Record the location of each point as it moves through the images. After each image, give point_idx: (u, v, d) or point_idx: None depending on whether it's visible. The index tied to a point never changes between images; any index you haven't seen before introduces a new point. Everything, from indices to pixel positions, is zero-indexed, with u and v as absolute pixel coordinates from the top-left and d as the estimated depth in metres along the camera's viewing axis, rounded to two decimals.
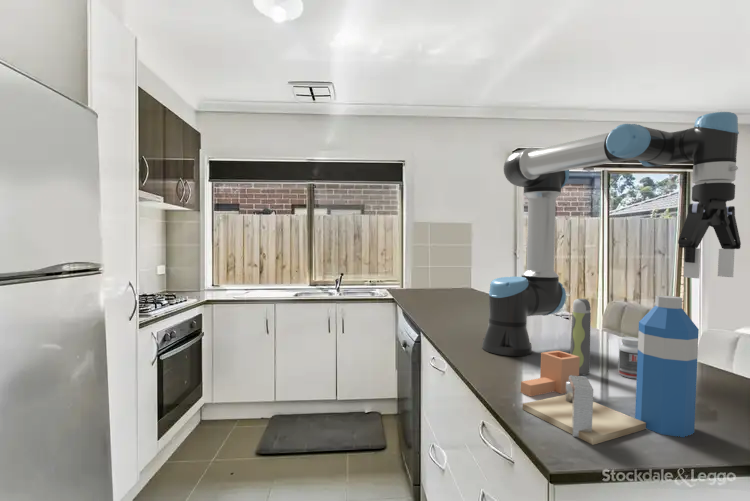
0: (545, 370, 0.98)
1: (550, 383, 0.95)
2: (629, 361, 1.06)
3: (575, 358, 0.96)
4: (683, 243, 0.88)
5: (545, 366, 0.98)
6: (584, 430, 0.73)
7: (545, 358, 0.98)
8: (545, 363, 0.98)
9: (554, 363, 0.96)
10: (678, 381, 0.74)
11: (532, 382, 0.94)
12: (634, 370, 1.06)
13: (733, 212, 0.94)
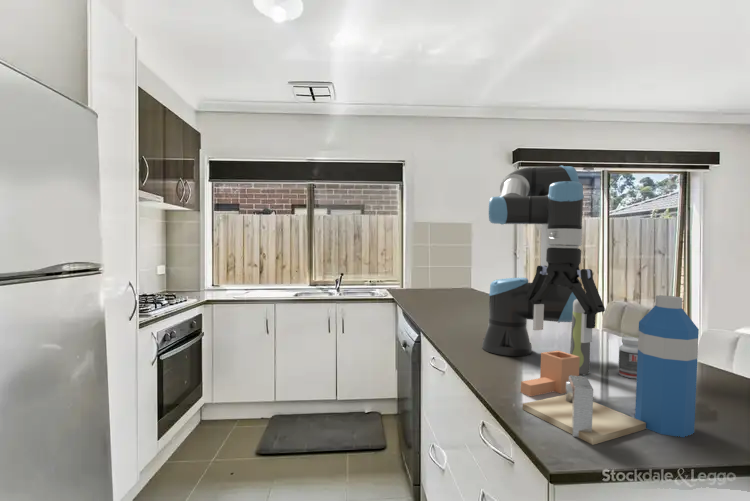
0: (545, 370, 0.98)
1: (550, 383, 0.95)
2: (629, 361, 1.06)
3: (575, 358, 0.96)
4: None
5: (545, 366, 0.98)
6: (584, 430, 0.73)
7: (545, 358, 0.98)
8: (545, 363, 0.98)
9: (554, 363, 0.96)
10: (678, 381, 0.74)
11: (532, 382, 0.94)
12: (634, 370, 1.06)
13: (583, 275, 0.91)
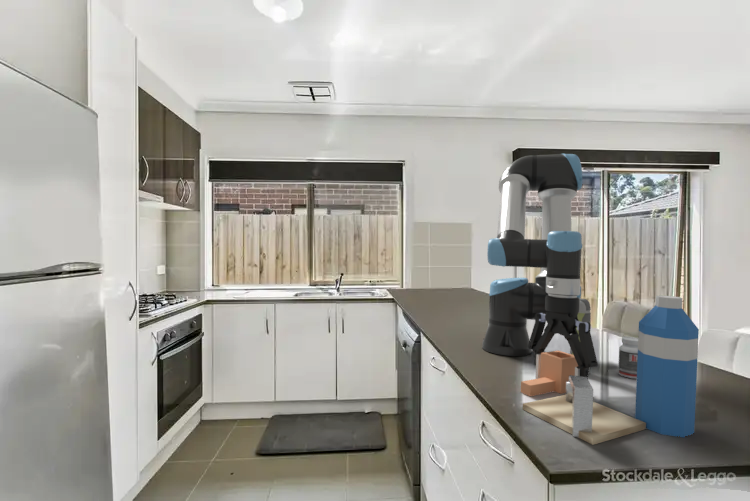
0: (545, 370, 0.98)
1: (550, 383, 0.95)
2: (629, 361, 1.06)
3: None
4: None
5: (545, 366, 0.98)
6: (584, 430, 0.73)
7: (545, 358, 0.98)
8: (545, 363, 0.98)
9: (554, 363, 0.96)
10: (678, 381, 0.74)
11: (532, 382, 0.94)
12: (634, 370, 1.06)
13: (581, 329, 0.91)
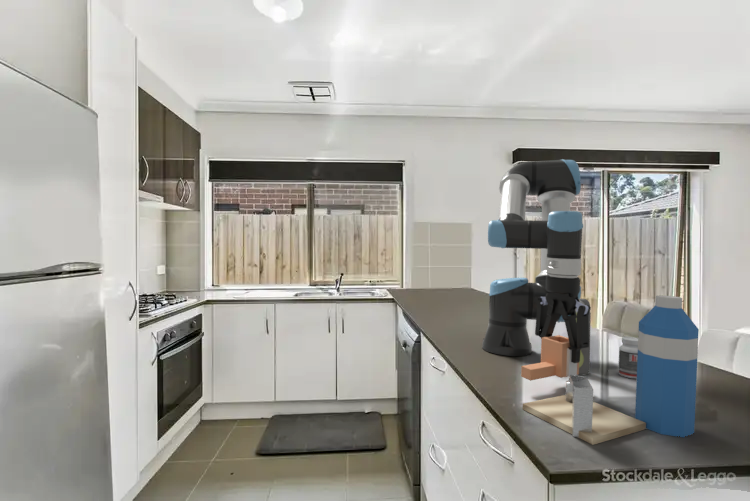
0: (545, 355, 0.98)
1: (550, 367, 0.95)
2: (629, 361, 1.06)
3: None
4: None
5: (545, 351, 0.98)
6: (584, 430, 0.73)
7: (545, 343, 0.98)
8: (545, 348, 0.98)
9: (554, 347, 0.96)
10: (678, 381, 0.74)
11: (532, 366, 0.95)
12: (634, 370, 1.06)
13: (580, 311, 0.92)
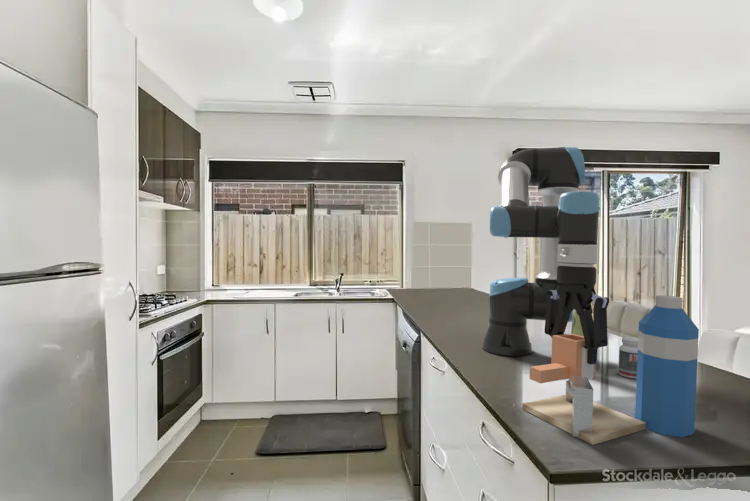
0: (557, 355, 0.86)
1: (563, 369, 0.83)
2: (629, 361, 1.06)
3: None
4: None
5: (557, 350, 0.86)
6: (584, 430, 0.73)
7: (557, 341, 0.86)
8: (557, 347, 0.86)
9: (567, 346, 0.84)
10: (678, 381, 0.74)
11: (542, 367, 0.83)
12: (634, 370, 1.06)
13: (598, 304, 0.80)
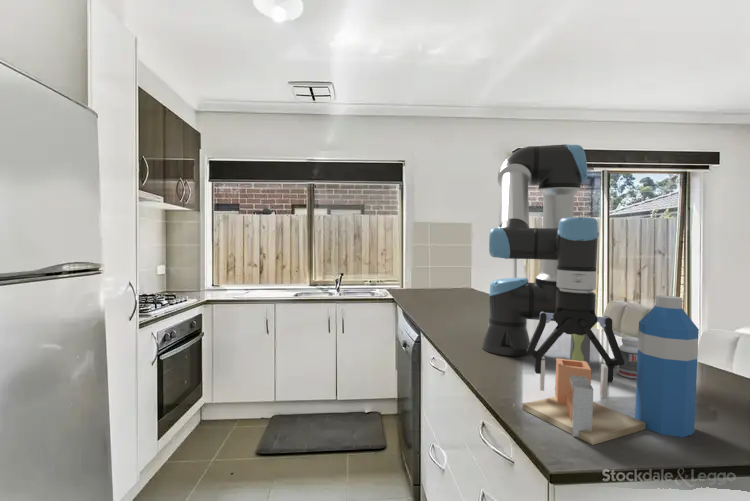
0: (566, 385, 0.84)
1: None
2: (629, 361, 1.06)
3: None
4: None
5: (566, 380, 0.84)
6: (584, 430, 0.73)
7: (566, 371, 0.84)
8: (566, 377, 0.84)
9: (579, 375, 0.83)
10: (678, 381, 0.74)
11: None
12: (634, 370, 1.06)
13: (610, 324, 0.83)
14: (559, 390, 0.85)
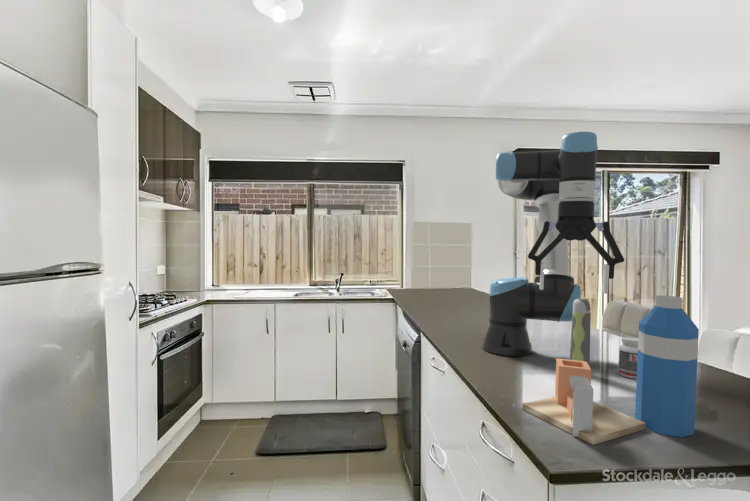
0: (566, 385, 0.84)
1: None
2: (629, 361, 1.06)
3: None
4: None
5: (566, 380, 0.84)
6: (584, 430, 0.73)
7: (566, 371, 0.84)
8: (566, 377, 0.84)
9: (579, 375, 0.83)
10: (678, 381, 0.74)
11: None
12: (634, 370, 1.06)
13: (607, 227, 0.92)
14: (559, 390, 0.85)
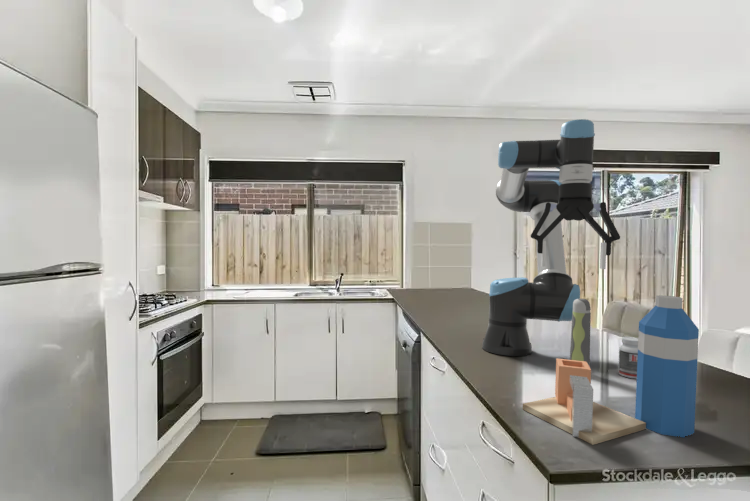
0: (566, 385, 0.84)
1: None
2: (629, 361, 1.06)
3: None
4: None
5: (566, 380, 0.84)
6: (584, 430, 0.73)
7: (566, 371, 0.84)
8: (566, 377, 0.84)
9: (579, 375, 0.83)
10: (678, 381, 0.74)
11: None
12: (634, 370, 1.06)
13: (604, 207, 0.99)
14: (559, 390, 0.85)
